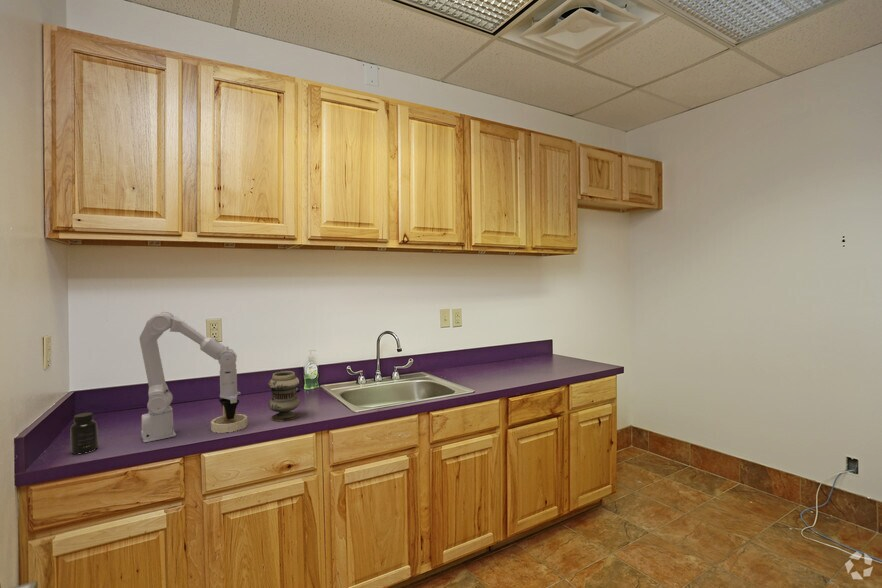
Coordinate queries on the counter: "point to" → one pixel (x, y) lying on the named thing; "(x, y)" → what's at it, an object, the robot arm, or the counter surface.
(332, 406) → the counter surface
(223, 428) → the beige round dish
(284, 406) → the apothecary jar
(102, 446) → the counter surface
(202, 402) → the counter surface
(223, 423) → the brown wooden block
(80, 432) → the supplement bottle
